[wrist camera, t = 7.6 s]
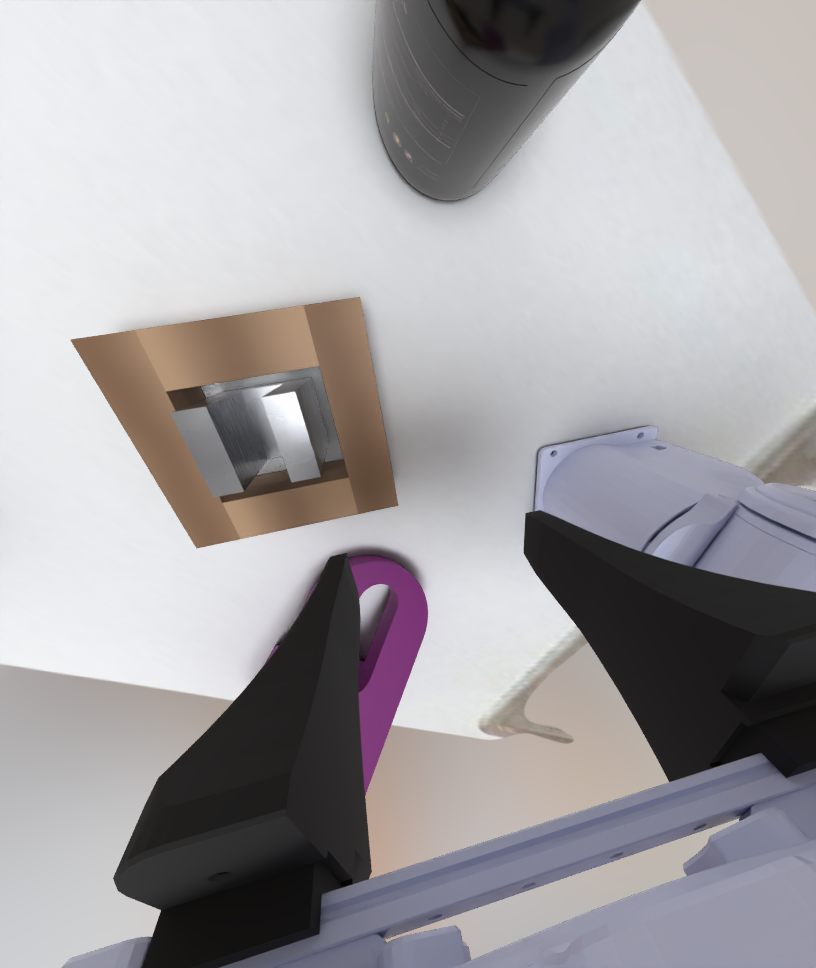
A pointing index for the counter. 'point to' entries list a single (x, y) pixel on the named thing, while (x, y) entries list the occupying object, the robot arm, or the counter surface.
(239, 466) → the bracket
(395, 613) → the mounting bracket
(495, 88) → the supplement bottle
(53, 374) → the counter surface
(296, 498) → the well block
